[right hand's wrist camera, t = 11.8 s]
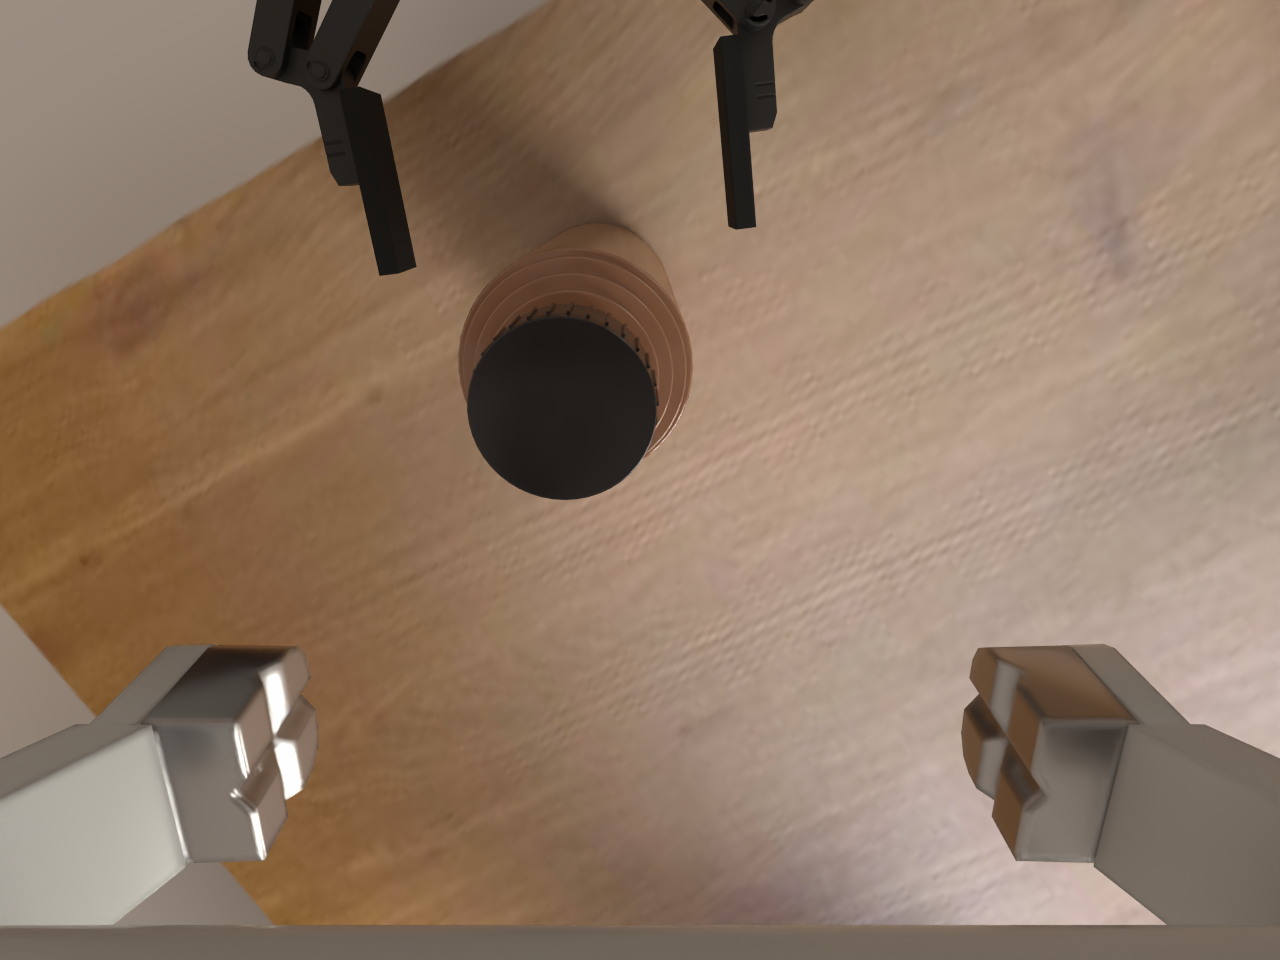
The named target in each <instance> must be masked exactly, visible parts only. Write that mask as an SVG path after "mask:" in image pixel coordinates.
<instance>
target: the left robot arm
mask: <svg viewBox="0 0 1280 960" xmlns="http://www.w3.org/2000/svg"><path fill="white" fill-rule="evenodd" d="M399 1H400V0H332V2H331V5H330V7H329V9H328V11H327V13H326V15H325V17H324V19H323V22H322V24H321V26H320V28H319V30H318V32H317V34H316V36H315V39H314V35H315V30H316V25H317V20H318V15H319V10H320V5H321V0H257V3H256V8H255V14H254V20H253V25H252V31H251V37H250V42H249V48H248V60H249V63H250V66H251V67H252V68H253V69H254V71H255V72H257V73H258V74H260V75H262V76H265V77H268V78H272V79H275V80H278V81H282V82H285V83H289V84H293V85H298V86H301V87H303V88H304V89H306V91H307V92H308V93H309V94H310V95H311V97H312V99H313V101H314V104H315V108H316V112H317V116H318V121H319V125H320V129H321V134H322V138H323V142H324V147H325V151H326V154H327V159H328V164H329V168H330V172H331V174H332V175H333V177H334V179H335V180H336V182H337V183H338V185H339V186H353V185H360V190H361V194H362V199H363V203H364V208H365V212H366V217H367V221H368V226H369V230H370V235H371V239H372V244H373V248H374V253H375V257H376V262H377V266H378V271H379V275H380V276H382V275H390V274H397V273H401V272H404V271H407V270H409V269H412V268H415V267H416V262H415V257H414V252H413V248H412V243H411V238H410V233H409V228H408V223H407V219H406V214H405V209H404V204H403V199H402V195H401V190H400V185H399V180H398V175H397V170H396V166H395V161H394V156H393V151H392V146H391V142H390V137H389V132H388V127H387V122H386V118H385V113H384V108H383V103H382V98H381V95H380V94H378V93H375V92H373V91H370V90H367V89H364V88H361V87H357V86H358V84H359V82H360V80H361V78H362V76H363V74H364V72H365V70H366V68H367V66H368V64H369V62H370V60H371V58H372V56H373V54H374V52H375V50H376V47H377V45H378V43H379V41H380V39H381V37H382V35H383V33H384V31H385V29H386V27H387V25H388V23H389V21H390V19H391V17H392V15H393V13H394V11H395V9H396V7H397V5H398V3H399ZM812 1H813V0H702V2H703V3H704V4H705V5H706V6H707V7H708V8H709V9H710V10H711V11H712V12H713V13H714V14H715V15H716V17H717V18H718V19H719V20H720V21H721V22H722V23H723V24H724V25H725V26H726V27H727V28H728V29H729V30H730V32H731V33H732V34H733V35H729V36H722V37H720V38H719V40H718V41H717V43H716V45H715V47H714V48H713V52H714V63H715V75H716V87H717V98H718V110H719V122H720V133H721V145H722V157H723V168H724V180H725V192H726V203H727V215H728V226H729V227H731V228H734V229H736V230H737V229H744V228H752V227H756V219H755V206H754V192H753V179H752V166H751V152H750V139H749V133H750V132H757V131H765V130H768V129H771V128H772V127H773V124H774V121H775V117H776V114H777V107H776V91H775V76H774V60H773V44H772V39H773V33H774V30H775V28H776V26H777V25H778V24H780V23H782V22H783V21H785V20H787V19H789V18H790V17H792V16H794V15H797V14H799V13H801V12H802V11H803V10H804V9H805V8H807V7H808V5H809V4H810V3H811V2H812ZM313 40H314V41H313Z"/></svg>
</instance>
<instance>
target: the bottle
mask: <svg viewBox="0 0 1280 960" xmlns="http://www.w3.org/2000/svg"><path fill="white" fill-rule="evenodd" d="M554 302H555V304H570V303H571V302H574V304H578V305H583V306H588V307H590V305H592V306H593V308H594V309H597V310H600V311H602V312H604V313H606V314H608V312H609V313H611V316H612V317H614V318H615V319H617V320H618V321H620V322H621V323H622V324H624V323H625V324H627V328H628V329H629V330H630V331H631V332H632V333H633V334H634V336H635V337H639V338H640V344H641V345H642V347H643V348H644V350H645V352H646V353H647V352H648V353H649V356H650V364H651V367H652V370H655V374H656V382H657V386H656V387H655V388H657V389H658V398H659V406H657V420H658V423H657V425H656V426H655V431H654V435H653V438H652V442H651V444H650V446H649V448H648V450H647V452H646V454H645V456H644V457H643V459H644V458H646V457H647V456H648V455H650V454H651V453H652V452H653V451H654V450H656V449H657V448H658V447H659V446H660V445H661V444H662V443H663V441H664V440H665V439H666V438H667V437H668V436H669V434H670V433H671V432H672V430H673V429H674V427H675V426H676V424H677V422H678V421H679V419H680V417H681V415H682V413H683V411H684V408H685V405H686V403H687V400H688V397H689V392H690V388H691V383H692V371H693V363H692V350H691V345H690V339H689V335H688V332H687V329H686V326H685V323H684V320H683V318H682V315H681V312H680V310H679V307H678V304H677V301H676V299H675V296H674V293H673V291H672V288H671V285H670V283H669V280H668V277H667V274H666V272H665V269H664V267H663V265H662V263H661V261H660V259H659V258H658V256H657V255H656V253H655V252H654V251H653V250H652V248H651V247H650V246H649V245H648V244H647V243H646V242H645V241H644V240H643V239H641V238H640V237H638V236H637V235H635V234H634V233H632V232H630V231H628V230H626V229H624V228H621V227H618V226H615V225H610V224H602V223H592V224H584V225H579V226H576V227H573V228H570V229H568V230H566V231H564V232H562V233H560V234H559V235H557V236H555V237H554V238H552V239H551V240H549V241H548V242H546V243H545V244H543V245H541V246H540V247H538V248H537V249H535V250H534V251H532V252H531V253H529V254H527V255H526V256H524V257H523V258H521V259H520V260H518V261H517V262H515V263H514V264H512V265H511V266H509V267H508V268H506V269H505V270H504V271H502V272H501V273H499V274H498V275H497V276H496V277H495V278H494V279H493V280H492V281H491V282H490V283H489V284H488V285H487V286H486V287H485V289H484V290H483V291H482V292H481V294H480V295H479V296H478V298H477V299H476V301H475V303H474V304H473V306H472V308H471V310H470V312H469V314H468V317H467V319H466V321H465V324H464V327H463V331H462V335H461V339H460V347H459V374H460V381H461V386H462V390H463V393H464V397H465V400H466V402H467V398H468V390H469V385H470V382H471V378H472V375H473V373H472V372H473V370H474V369H475V367H476V366H477V364H478V362H479V360H480V359H481V357H482V356H481V353H482V352H483V351H484V350H485V349H486V347H487V346H488V345H489V344H490V343H491V342H492V341H494V340H493V338H494V337H495V336H496V335H497V334H498V333H499V332H500V330H501V329H502V328H503V327H504V326H505V327H506V328H507V327H508V326H509V324H510V323H511V322H512V321H513V320H514V319H515V318H516V317H517V316H518V315H520V316H523V315H525V314H526V313H528V312H530V311H531V310H532V309H533V308H534V307H537V309H538V308H541V307H545V306H549V305H551V304H552V303H554ZM643 459H642V460H643Z"/></svg>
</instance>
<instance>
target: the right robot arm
mask: <svg viewBox="0 0 1280 960" xmlns="http://www.w3.org/2000/svg"><path fill="white" fill-rule="evenodd" d="M310 678H311V677H310V672H309V668H308V663H307V658H306V654H305V653H304V652H303V651H302V650H301V649H300V648H299V647H298V646H250V645H217V646H215V645H213V644H199V645H175V646H170V647H166V648H165V649H164V650H163V651H162V652H161V653H160V654H159V655H158V656H157V657H156V658H155V659H154V660H153V661H152V662H151V663H150V664H149V665H148V666H147V667H146V668H145V669H144V670H143V671H142V672H141V673H140V674H139V675H138V676H137V677H136V678H135V679H134V680H133V681H132V682H131V683H130V684H129V685H128V686H127V687H126V688H125V689H124V690H123V691H122V692H121V693H120V694H119V695H118V696H117V697H116V698H115V699H114V700H113V701H112V702H111V703H110V704H109V705H108V706H107V707H106V708H105V709H104V710H103V711H102V712H101V713H100V714H99V715H98V716H97V717H96V718H95V719H94V720H93V721H92V722H91V723H90V724H84V725H83V724H81V725H73V726H71V727H69V728H67V729H65V730H62V731H60V732H58V733H56V734H53V735H51V736H49V737H47V738H44V739H42V740H40V741H38V742H36V743H33V744H31V745H29V746H27V747H25V748H22V749H20V750H18V751H16V752H13V753H11V754H9V755H7V756H5V757H2V758H0V960H1280V758H1277V757H1275V756H1273V755H1271V754H1269V753H1266V752H1264V751H1262V750H1260V749H1258V748H1255V747H1253V746H1251V745H1249V744H1246V743H1244V742H1242V741H1240V740H1238V739H1235V738H1233V737H1231V736H1229V735H1227V734H1224V733H1222V732H1220V731H1218V730H1216V729H1213V728H1211V727H1209V726H1207V725H1200V724H1190V723H1189V722H1188V721H1187V720H1186V719H1185V718H1184V717H1183V716H1182V715H1181V714H1180V713H1179V712H1178V711H1177V710H1176V709H1175V708H1174V707H1173V706H1172V705H1171V704H1170V703H1169V702H1168V701H1167V700H1166V699H1165V698H1164V697H1163V696H1162V695H1161V694H1160V693H1159V692H1158V691H1157V690H1156V689H1155V688H1154V687H1153V686H1152V685H1151V684H1150V683H1149V682H1148V681H1147V680H1146V679H1145V678H1144V677H1143V676H1142V675H1141V674H1140V673H1139V672H1138V671H1137V670H1136V669H1135V668H1134V667H1133V666H1132V665H1131V664H1130V663H1129V662H1128V661H1127V660H1126V659H1125V658H1124V657H1123V656H1122V655H1121V654H1120V653H1119V652H1118V651H1117V650H1116V649H1115V648H1113V647H1110V646H1108V645H1105V644H1089V645H1063V646H1029V647H989V648H978V650H977V652H976V654H975V656H974V658H973V660H972V666H971V672H970V677H969V678H970V680H971V681H972V683H973V684H974V686H975V688H976V689H977V691H978V692H979V695H978V696H977V697H976V698H975V699H974V700H973V701H972V702H971V703H970V704H969V705H968V706H967V707H966V708H965V709H964V715H963V723H962V731H961V735H962V746H963V756H964V759H965V763H966V766H967V769H968V772H969V775H970V776H971V778H972V780H973V782H974V784H975V786H976V788H977V789H978V790H980V791H981V792H983V793H984V794H986V795H987V796H989V797H990V798H992V799H993V800H994V806H993V812H992V818H993V820H994V821H995V823H996V825H997V827H998V829H999V830H1000V832H1001V834H1002V836H1003V838H1004V840H1005V841H1006V843H1007V845H1008V847H1009V849H1010V850H1011V852H1012V854H1013V856H1014V858H1015V860H1016V861H1044V862H1081V863H1094V867H1095V868H1096V869H1098V870H1099V871H1100V872H1101V873H1103V874H1104V875H1105V876H1106V877H1108V878H1109V879H1110V880H1111V881H1113V882H1114V883H1115V884H1116V885H1118V886H1119V887H1120V888H1121V889H1123V890H1124V891H1125V892H1127V893H1128V894H1129V895H1130V896H1132V897H1133V898H1134V899H1135V900H1137V901H1138V902H1139V903H1140V904H1142V905H1143V906H1144V907H1145V908H1147V909H1148V910H1149V911H1151V912H1152V913H1153V914H1154V915H1156V916H1157V917H1158V918H1159V919H1161V920H1162V921H1163V922H1164V923H1166V924H1167V925H113V924H114V923H116V922H117V921H118V920H120V919H121V918H122V917H123V916H125V915H126V914H127V913H128V912H130V911H131V910H132V909H134V908H135V907H136V906H137V905H139V904H140V903H141V902H142V901H144V900H145V899H146V898H147V897H149V896H150V895H151V894H152V893H154V892H155V891H156V890H158V889H159V888H160V887H161V886H162V885H164V884H165V883H166V882H168V881H169V880H170V879H171V878H173V877H174V876H175V875H176V874H178V873H179V872H180V871H182V870H183V869H184V868H185V867H186V863H198V862H234V861H264V860H265V858H266V856H267V854H268V852H269V851H270V849H271V847H272V845H273V843H274V841H275V840H276V838H277V836H278V834H279V832H280V830H281V829H282V827H283V825H284V823H285V821H286V820H287V818H288V812H287V806H286V801H285V800H287V799H288V798H290V797H291V796H293V795H294V794H296V793H297V792H299V791H300V790H302V789H303V788H304V786H305V784H306V782H307V780H308V778H309V776H310V774H311V772H312V770H313V766H314V762H315V757H316V753H317V749H318V721H317V714H316V709H315V708H314V707H313V706H312V705H311V704H310V703H309V702H308V701H307V700H306V699H305V698H304V697H303V696H302V695H301V692H302V691H303V689H304V688H305V686H306V684H307V683H308V681H309V680H310Z"/></svg>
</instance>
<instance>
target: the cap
mask: <svg viewBox="0 0 1280 960" xmlns="http://www.w3.org/2000/svg"><path fill="white" fill-rule="evenodd" d="M493 340H494V341H492V342H491V343H490V344H489V345H488V346H487V347H486V349H485V350H484V351H483V352H482V353H481V356H482V357H481V359H480V360H479V362H478V364H477V366H476V367H475V369H474V370H473V372H472V373H473V375H472V378H471V382H470V385H469V390H468V398H467V412H468V420H469V425H470V429H471V432H472V436H473V438H474V440H475V443H476V445H477V447H478V449H479V450H480V452H481V454H482V456H483V457H484V458H485V460H486V461H487V462H488V464H489V465H490V466H491V467H492V468H493V469H494V470H495V471H496V472H497V473H498V474H499V475H500V476H501V477H502V478H504V479H505V480H506V481H508V482H509V483H511V484H512V485H514V486H515V487H517V488H519V489H521V490H523V491H525V492H528V493H530V494H533V495H536V496H540V497H544V498H549V499H558V500H571V499H580V498H586V497H590V496H593V495H596V494H599V493H602V492H604V491H606V490H608V489H610V488H612V487H613V486H615V485H617V484H618V483H620V482H621V481H622V480H624V479H625V478H626V477H627V476H628V475H630V474H631V472H632V471H633V470H634V469H635V468H636V467H637V466H638V464H639V463H640V462H641V460H642V459H643V457H644V456H645V454H646V452H647V450H648V448H649V446H650V444H651V442H652V438H653V435H654V431H655V426H656V425H657V423H658V420H657V406H659V398H658V389H657V388H655V387H656V386H657V382H656V374H655V370H652V367H651V364H650V356H649V353H648V352H647V353H646V352H645V350H644V348H643V347H642V345H641V344H640V338H639V337H635V336H634V334H633V333H632V332H631V331H630V330H629V329H628V328H627V324H625V323H624V324H622V323H621V322H620V321H618V320H617V319H615V318H614V317H612V316H611V313H609V312H608V314H606V313H604V312H602V311H600V310H597V309H594V308H593V306H592V305H590V307H588V306H583V305H578V304H574V302H571V303H570V304H555V302H554V303H552V304H551V305H549V306H545V307H541V308H538V309H537V307H534V308H533V309H532V310H531V311H530V312H528V313H526V314H525V315H523V316H520V315H518V316H517V317H516V318H515V319H514V320H513V321H512V322H511V323H510V324H509V326H508V327H507V328H506V327H505V326H504V327H503V328H502V329H501V330H500V332H499V333H498V334H497V335H496V336H495V337H494V338H493Z"/></svg>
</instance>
